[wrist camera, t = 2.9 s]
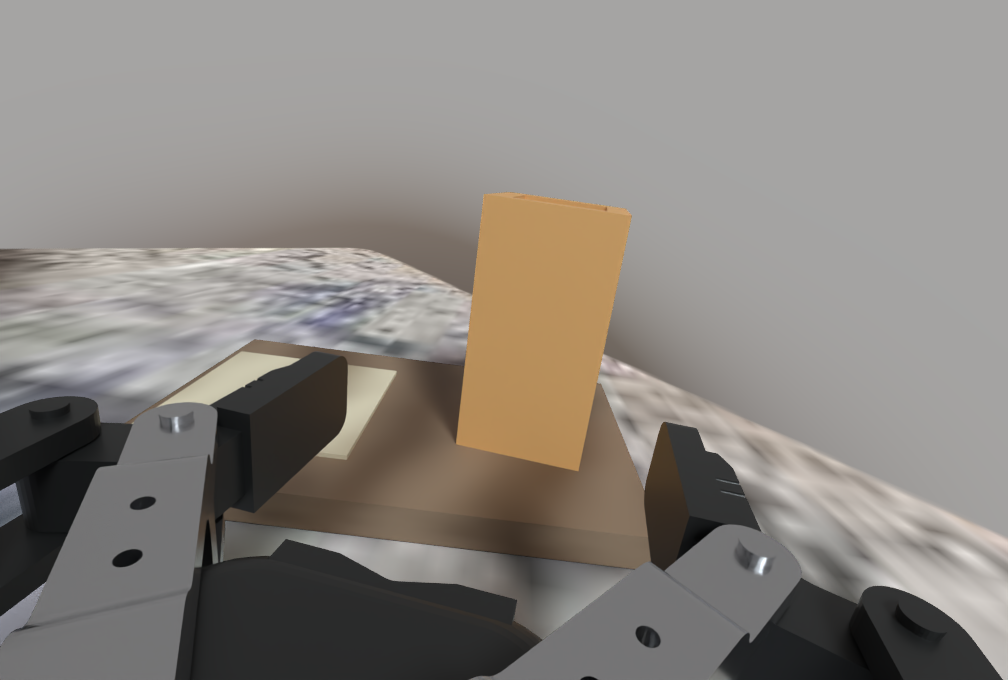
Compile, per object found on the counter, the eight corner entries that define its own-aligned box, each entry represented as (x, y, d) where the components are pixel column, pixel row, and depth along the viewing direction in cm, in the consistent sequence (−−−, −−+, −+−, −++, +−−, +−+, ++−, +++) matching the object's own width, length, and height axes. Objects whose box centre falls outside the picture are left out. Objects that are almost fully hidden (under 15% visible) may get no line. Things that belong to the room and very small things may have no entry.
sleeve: (578, 471, 22) (631, 215, 18) (456, 444, 22) (483, 194, 19) (583, 415, 27) (625, 208, 23) (484, 394, 28) (510, 192, 24)
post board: (65, 501, 18) (9, 208, 15) (255, 361, 31) (248, 190, 28) (654, 571, 19) (732, 304, 15) (596, 404, 32) (631, 242, 28)
